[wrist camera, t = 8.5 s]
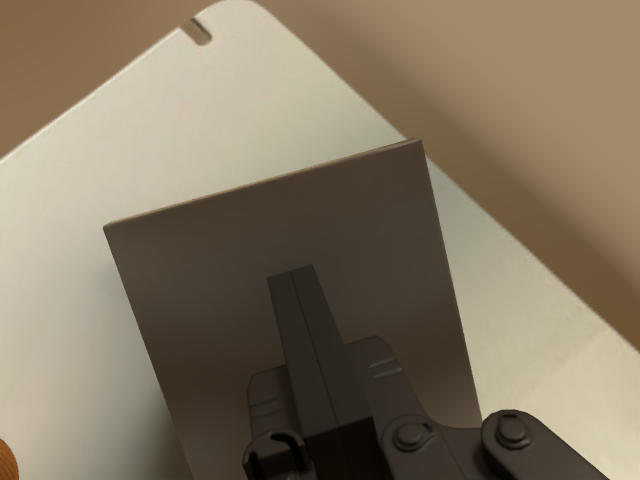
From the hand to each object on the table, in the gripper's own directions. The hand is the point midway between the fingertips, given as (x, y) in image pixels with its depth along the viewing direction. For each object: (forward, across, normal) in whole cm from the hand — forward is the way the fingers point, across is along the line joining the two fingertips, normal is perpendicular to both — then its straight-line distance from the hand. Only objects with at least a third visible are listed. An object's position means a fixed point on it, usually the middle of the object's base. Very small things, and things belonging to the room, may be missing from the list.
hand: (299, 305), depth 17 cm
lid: (+1, 0, -3) cm, 3 cm away
